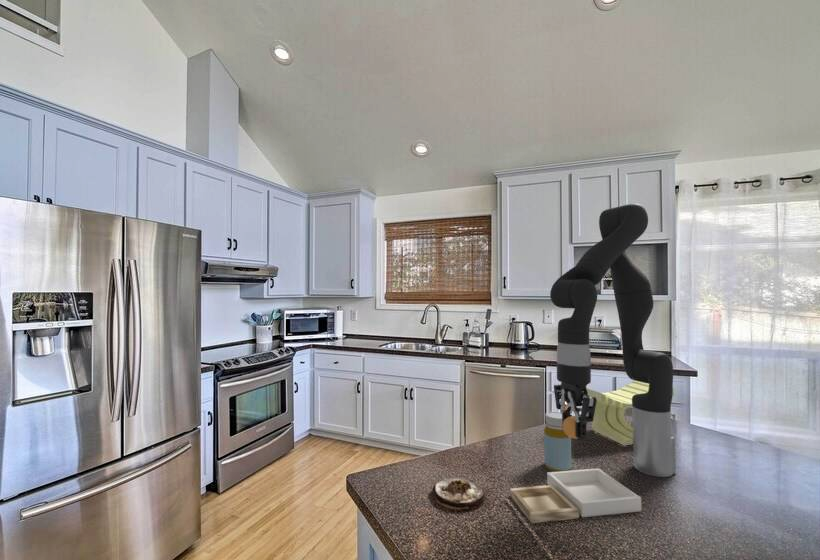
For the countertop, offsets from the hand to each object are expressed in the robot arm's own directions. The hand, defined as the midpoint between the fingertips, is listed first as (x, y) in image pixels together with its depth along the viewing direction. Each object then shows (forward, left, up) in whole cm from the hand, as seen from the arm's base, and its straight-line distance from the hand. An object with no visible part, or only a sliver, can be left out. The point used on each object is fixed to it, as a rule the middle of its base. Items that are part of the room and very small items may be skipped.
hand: (573, 433), depth 89 cm
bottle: (-6, -17, -16) cm, 24 cm away
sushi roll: (+26, -7, -17) cm, 32 cm away
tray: (+9, +1, -16) cm, 18 cm away
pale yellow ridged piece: (-41, -37, -16) cm, 58 cm away
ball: (0, 0, -1) cm, 1 cm away
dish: (-5, -1, -16) cm, 17 cm away
